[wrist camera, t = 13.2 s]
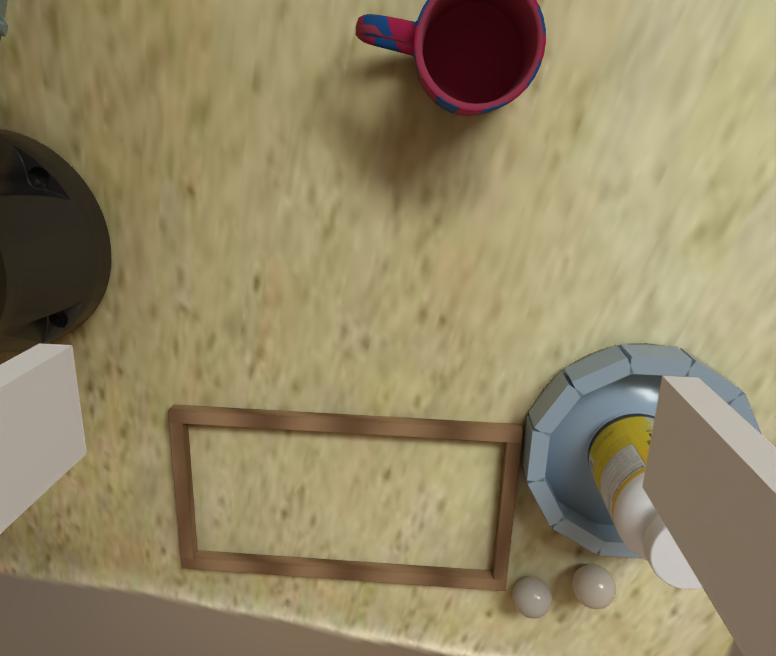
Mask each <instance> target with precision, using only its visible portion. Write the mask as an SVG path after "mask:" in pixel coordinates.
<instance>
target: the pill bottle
mask: <svg viewBox="0 0 776 656" xmlns="http://www.w3.org/2000/svg"><path fill="white" fill-rule="evenodd" d="M654 419H655V416H654V415H651V414H647V413H641V412H631V413H624V414H620V415H617V416H615V417H613V418H611V419H609V420H607V421H606V422H604V423H603V424H602V425H601V426H600V427H599V428H598V429H597V430H596V431H595V433H594V434H593V436H592V438H591V440H590V442H589V445H588V450H587V461H588V466H589V469H590V471H591V474H592V476H593V478H594V480H595V482H596V485H597V487H598V489H599V491H600V494H601V496H602V498H603V501H604V503H605V505H606V507H607V510H608V512H609V514H610V516H611V519H612V521H613V523H614V526H615V528H616V530H617V532H618V534H619V536H620V538H621V539H622V541H623V542H624V544H625V545H626V546H627V547H628V548H629V549H630V550H631V551H632V552H634V553H635V554H636V555H638V556H639V557H641V558H643V559H645V560H647V561H648V562H649V564H650V565H651V567H652V569H653V571H654V572H655V573H656V575H657V576H658V577H659V578H660V579H661V580H663V581H664V582H665V583H667V584H669V585H671V586H674V587H677V588H681V589H700V588H703V587H702V586H701V584H700V582H699V581H698V579H697V577H696V576H695V574H694V572H693V571H692V569H691V567H690V566H689V564H688V562H687V561H686V559H685V557H684V556H683V554H682V552H681V551H680V549H679V547H678V546H677V544H676V542H675V541H674V539H673V537H672V536H671V534H670V532H669V531H668V529H667V527H666V526H665V524H664V522H663V521H662V519H661V518H660V516H659V514H658V513H657V511H656V509H655V508H654V506H653V504H652V503H651V501H650V499H649V498H648V496H647V494H646V493H645V491H644V489H643V488H642V485H643V480H644V474H645V469H646V463H647V458H648V452H649V447H650V441H651V436H652V430H653V424H654Z"/></svg>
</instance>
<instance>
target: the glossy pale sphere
mask: <svg viewBox="0 0 776 656" xmlns="http://www.w3.org/2000/svg"><path fill="white" fill-rule="evenodd" d="M512 597H513V602H514V605H515V607H516V609H517V610H518V611H519V612H520V613H521V614H522V615H524V616H526V617H528V618H540V617H542V616H544V615H545V614H546V613H547V612H548V611H549V609H550V607H551V604H552V595H551V591H550V589H549V587H548V586H547V584H546V583H545V582H544V581H542V580H541V579H539V578H537V577H532V576H528V577H524V578H522V579H520V580H519V581H518V582H517V583H516V585H515V586H514V589H513V594H512Z"/></svg>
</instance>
